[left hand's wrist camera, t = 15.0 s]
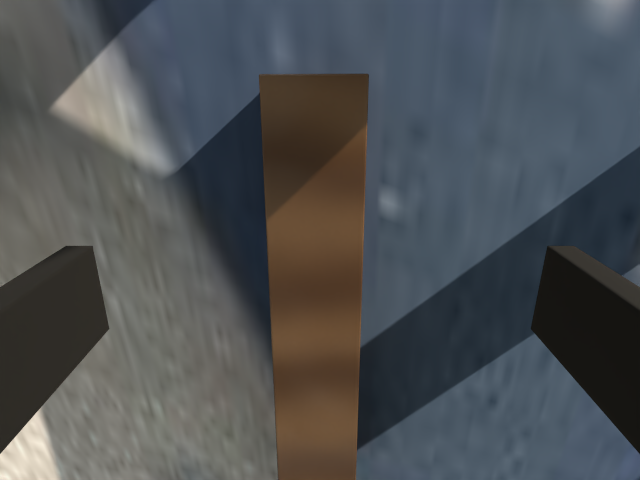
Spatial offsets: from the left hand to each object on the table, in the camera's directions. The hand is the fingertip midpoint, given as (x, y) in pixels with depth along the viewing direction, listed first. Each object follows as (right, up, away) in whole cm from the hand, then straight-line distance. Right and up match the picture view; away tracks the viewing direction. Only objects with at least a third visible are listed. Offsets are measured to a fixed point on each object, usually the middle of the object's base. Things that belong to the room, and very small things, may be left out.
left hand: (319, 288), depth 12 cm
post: (0, -12, +25) cm, 28 cm away
